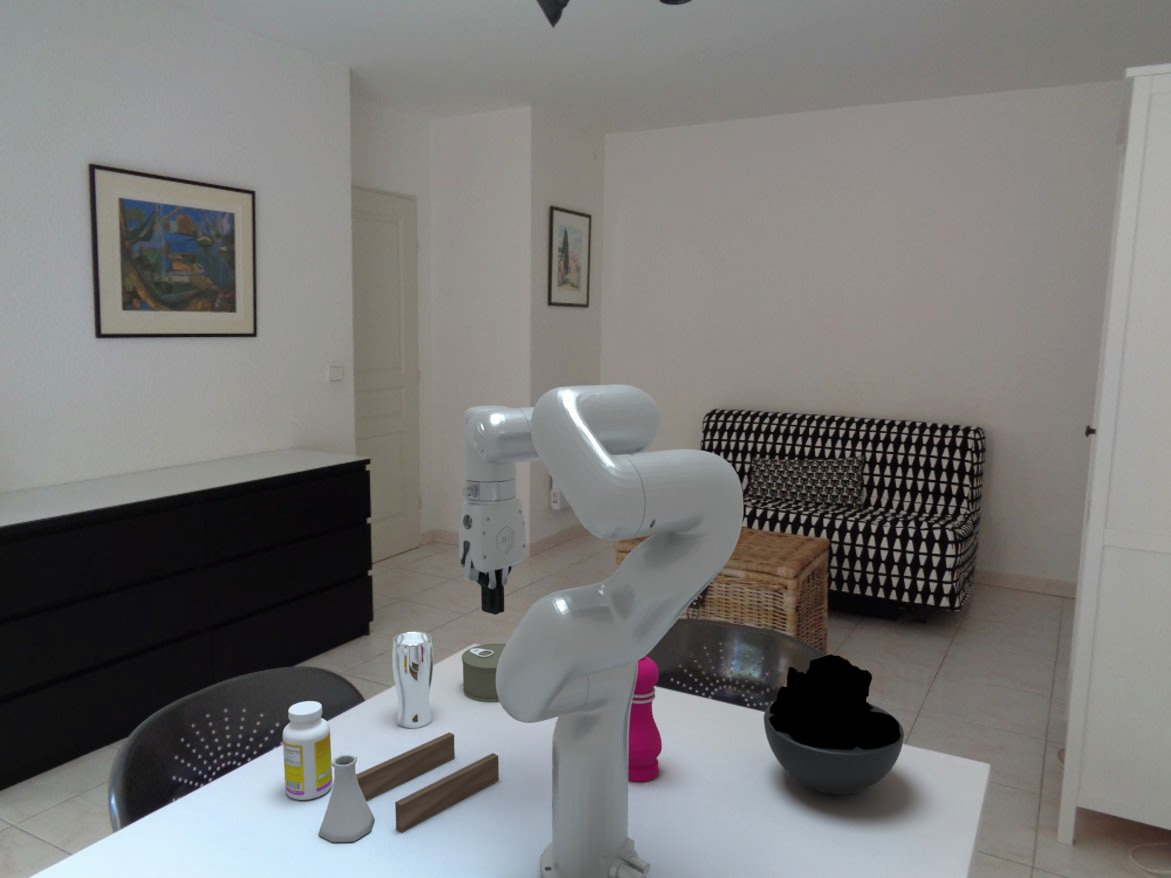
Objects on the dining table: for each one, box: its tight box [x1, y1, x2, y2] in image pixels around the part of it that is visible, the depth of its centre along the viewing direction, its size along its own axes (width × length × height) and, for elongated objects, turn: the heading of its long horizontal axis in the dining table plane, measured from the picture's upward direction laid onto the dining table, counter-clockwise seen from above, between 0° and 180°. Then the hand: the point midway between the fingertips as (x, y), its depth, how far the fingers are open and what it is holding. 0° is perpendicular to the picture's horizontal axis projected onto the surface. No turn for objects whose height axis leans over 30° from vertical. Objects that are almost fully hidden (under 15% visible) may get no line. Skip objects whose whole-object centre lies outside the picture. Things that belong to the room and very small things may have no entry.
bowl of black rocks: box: [763, 653, 905, 795], centre depth 127 cm, size 20×20×19 cm
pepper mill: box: [628, 655, 663, 783], centre depth 130 cm, size 7×7×20 cm
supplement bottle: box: [282, 700, 333, 801], centre depth 126 cm, size 7×7×13 cm
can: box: [461, 643, 507, 703], centre depth 162 cm, size 12×12×7 cm
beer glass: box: [391, 631, 434, 729], centre depth 148 cm, size 7×7×15 cm
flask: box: [318, 754, 376, 843], centre depth 116 cm, size 7×7×10 cm
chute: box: [356, 732, 500, 833], centre depth 126 cm, size 11×18×4 cm, turn 139°
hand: (493, 611), depth 127 cm, fingers closed
